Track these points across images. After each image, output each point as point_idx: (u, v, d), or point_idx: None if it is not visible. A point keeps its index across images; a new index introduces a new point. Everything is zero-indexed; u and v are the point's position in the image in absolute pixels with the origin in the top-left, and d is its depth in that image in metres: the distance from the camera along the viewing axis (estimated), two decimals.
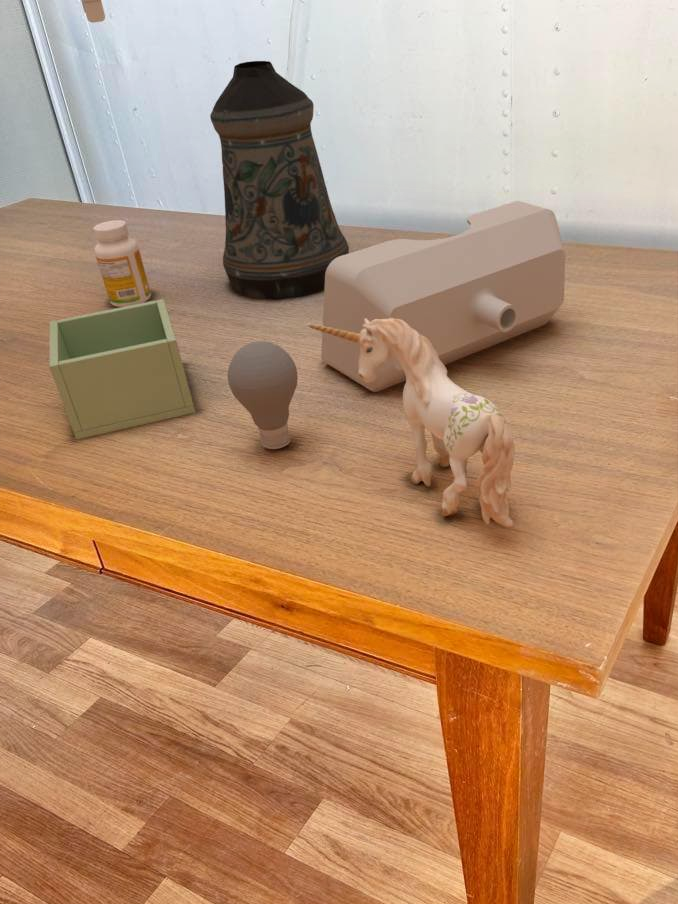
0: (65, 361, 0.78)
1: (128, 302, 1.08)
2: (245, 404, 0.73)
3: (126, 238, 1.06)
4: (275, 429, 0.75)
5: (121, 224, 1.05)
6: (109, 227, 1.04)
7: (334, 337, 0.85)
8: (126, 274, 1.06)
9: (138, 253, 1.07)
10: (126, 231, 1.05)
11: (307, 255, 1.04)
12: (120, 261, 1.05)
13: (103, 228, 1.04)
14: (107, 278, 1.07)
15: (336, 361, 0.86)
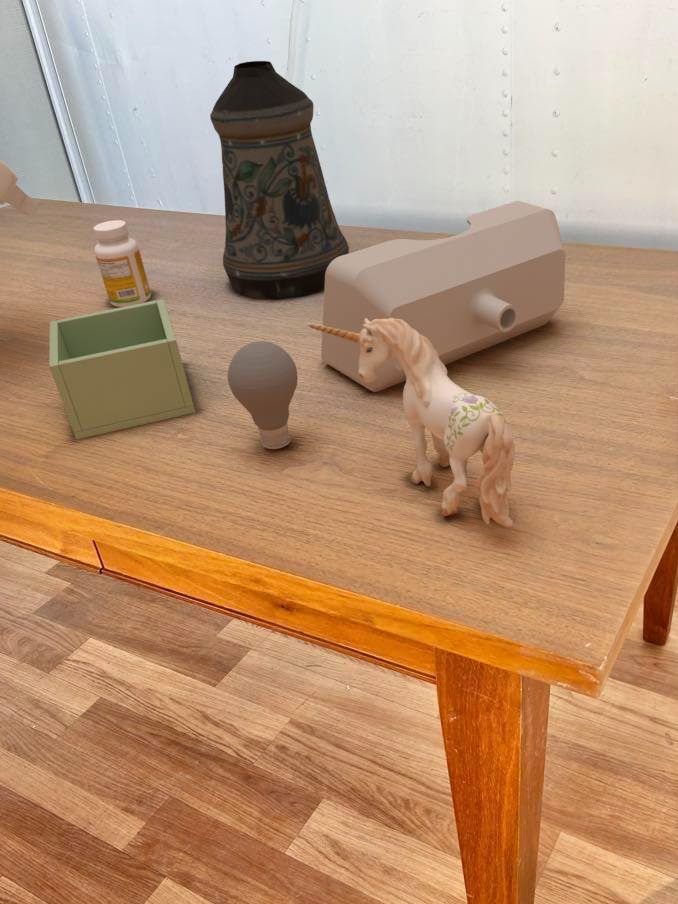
0: (65, 361, 0.78)
1: (128, 302, 1.08)
2: (245, 404, 0.73)
3: (126, 238, 1.06)
4: (275, 429, 0.75)
5: (121, 224, 1.05)
6: (109, 227, 1.04)
7: (334, 337, 0.85)
8: (126, 274, 1.06)
9: (138, 253, 1.07)
10: (126, 231, 1.05)
11: (307, 255, 1.04)
12: (120, 261, 1.05)
13: (103, 228, 1.04)
14: (107, 278, 1.07)
15: (336, 361, 0.86)
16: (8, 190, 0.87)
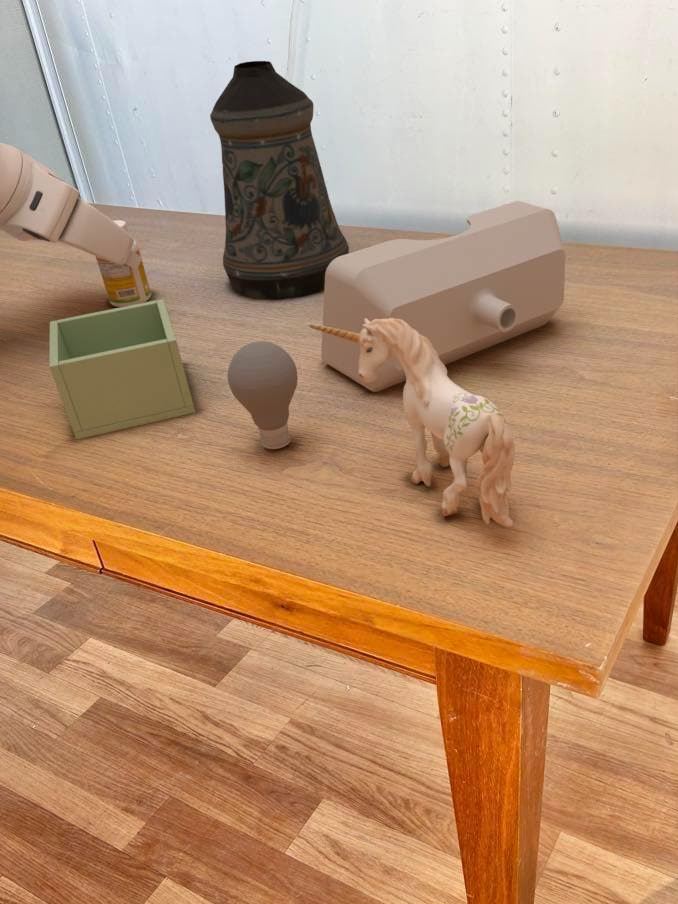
0: (65, 361, 0.78)
1: (128, 302, 1.08)
2: (245, 404, 0.73)
3: None
4: (275, 429, 0.75)
5: (121, 224, 1.05)
6: None
7: (334, 337, 0.85)
8: (126, 274, 1.06)
9: (138, 253, 1.07)
10: (126, 231, 1.05)
11: (307, 255, 1.04)
12: None
13: None
14: (107, 278, 1.07)
15: (336, 361, 0.86)
16: (127, 252, 0.98)
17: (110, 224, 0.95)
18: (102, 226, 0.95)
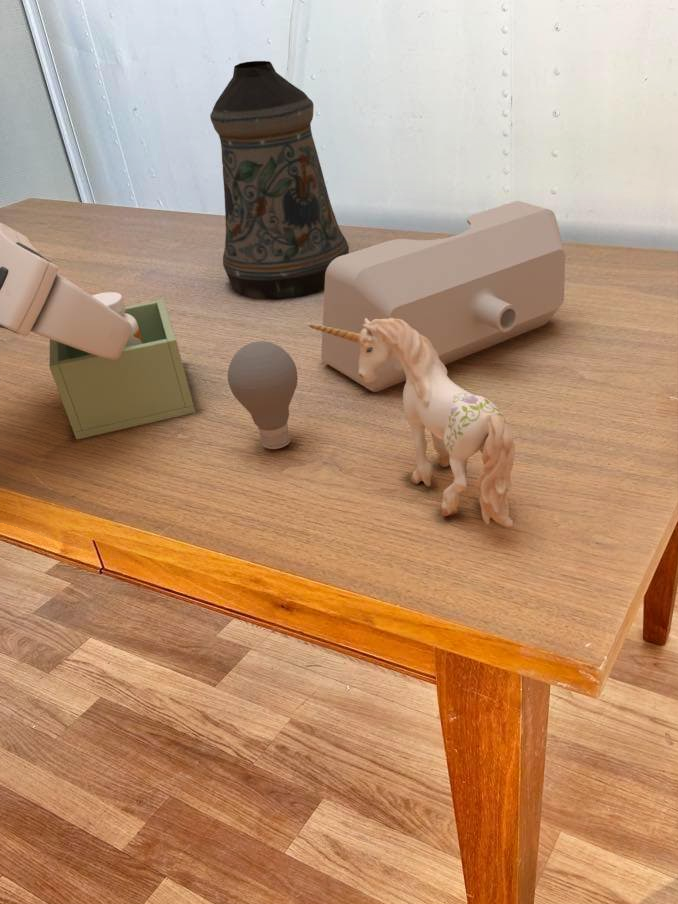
0: (65, 361, 0.78)
1: None
2: (245, 404, 0.73)
3: (122, 316, 0.82)
4: (275, 429, 0.75)
5: (116, 299, 0.81)
6: None
7: (334, 337, 0.85)
8: None
9: (138, 334, 0.83)
10: (122, 307, 0.81)
11: (307, 255, 1.04)
12: None
13: None
14: None
15: (336, 361, 0.86)
16: (123, 344, 0.74)
17: (100, 309, 0.71)
18: (89, 312, 0.71)
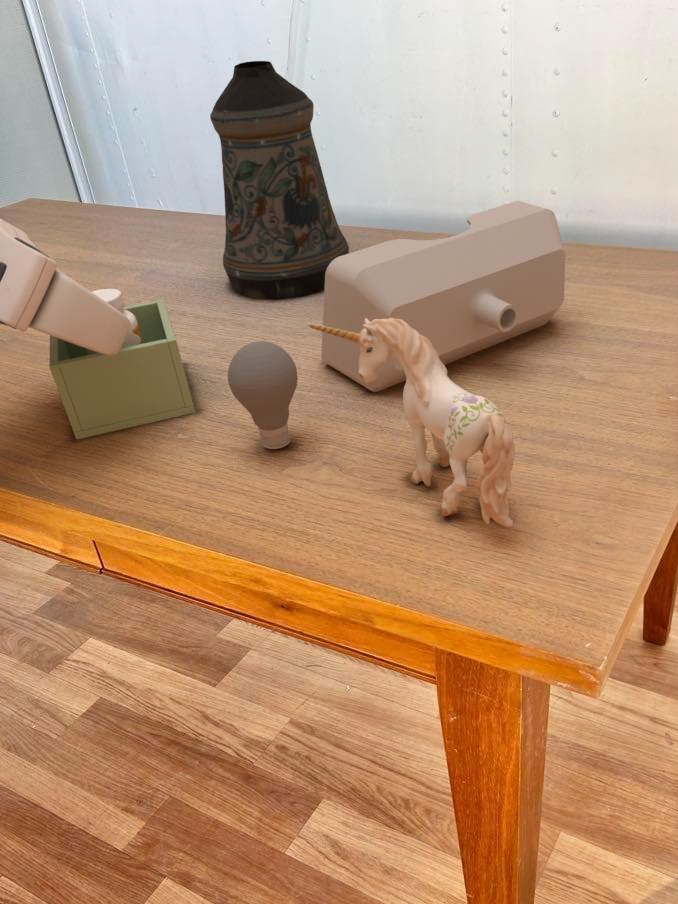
0: (65, 361, 0.78)
1: None
2: (245, 404, 0.73)
3: (121, 312, 0.81)
4: (275, 429, 0.75)
5: (115, 295, 0.80)
6: None
7: (334, 337, 0.85)
8: None
9: (137, 331, 0.83)
10: (121, 304, 0.81)
11: (307, 255, 1.04)
12: None
13: None
14: None
15: (336, 361, 0.86)
16: (122, 340, 0.73)
17: (99, 305, 0.71)
18: (88, 308, 0.70)
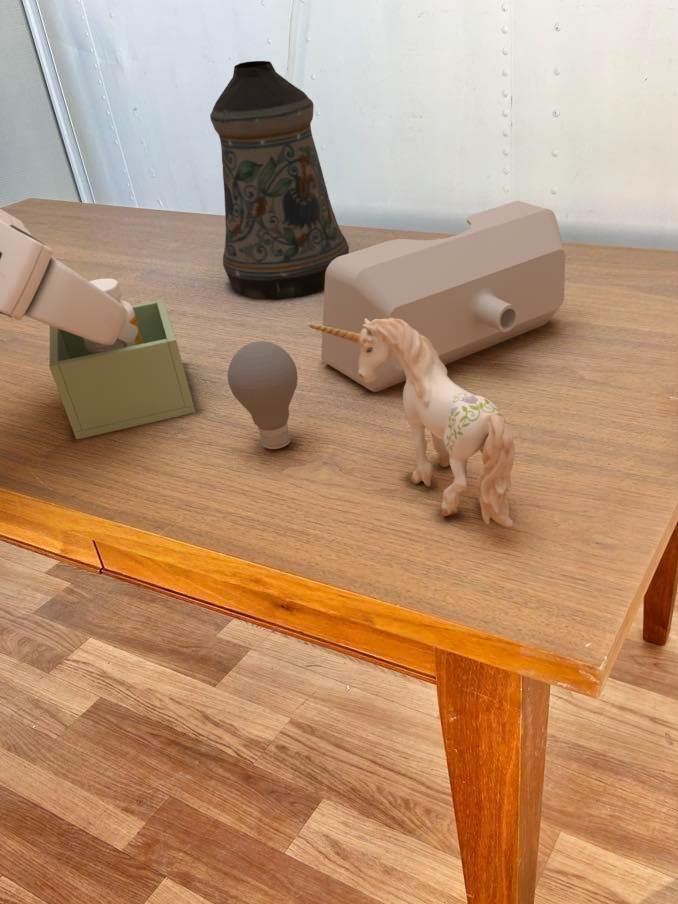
0: (65, 361, 0.78)
1: None
2: (245, 404, 0.73)
3: None
4: (275, 429, 0.75)
5: (112, 285, 0.80)
6: None
7: (334, 337, 0.85)
8: (119, 348, 0.81)
9: (134, 321, 0.82)
10: (118, 294, 0.80)
11: (307, 255, 1.04)
12: None
13: None
14: (93, 353, 0.82)
15: (336, 361, 0.86)
16: (118, 329, 0.73)
17: (95, 293, 0.70)
18: (84, 296, 0.70)
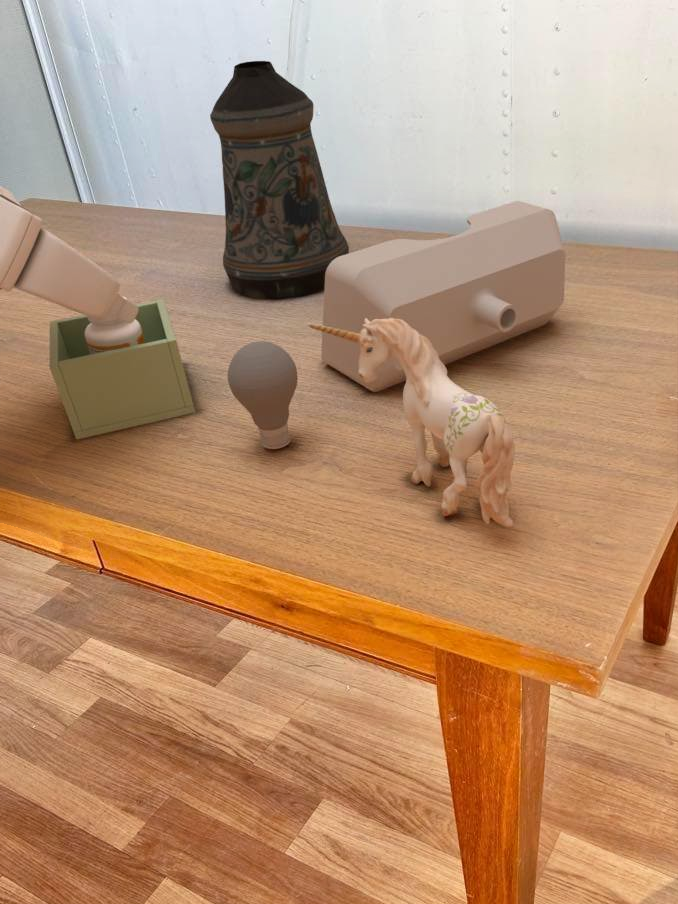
0: (65, 361, 0.78)
1: None
2: (245, 404, 0.73)
3: None
4: (275, 429, 0.75)
5: None
6: None
7: (334, 337, 0.85)
8: None
9: (142, 338, 0.83)
10: None
11: (307, 255, 1.04)
12: None
13: None
14: None
15: (336, 361, 0.86)
16: (110, 302, 0.71)
17: (86, 265, 0.69)
18: (75, 268, 0.68)
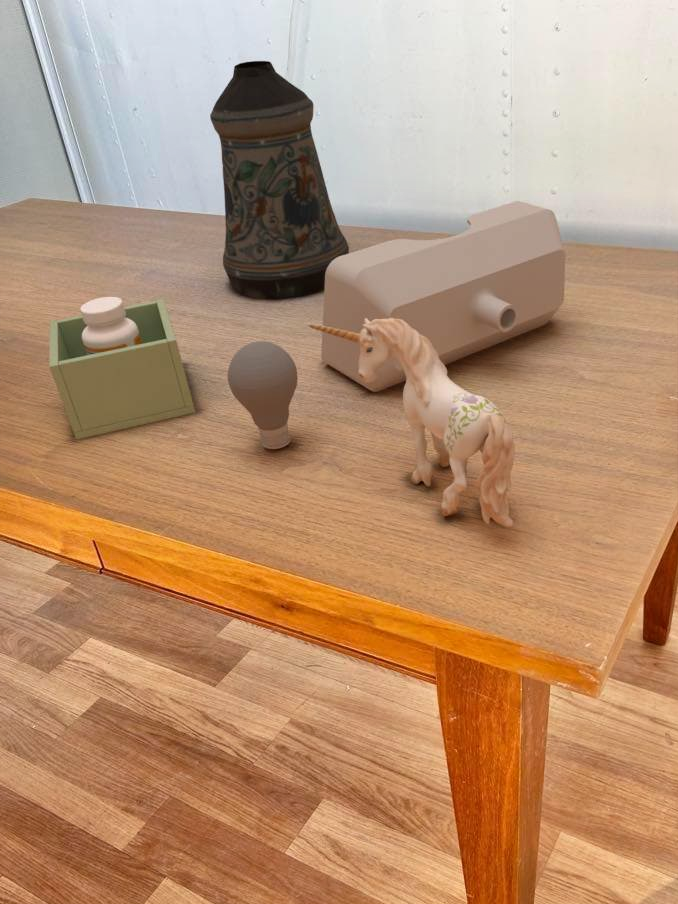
0: (65, 361, 0.78)
1: None
2: (245, 404, 0.73)
3: (123, 320, 0.82)
4: (275, 429, 0.75)
5: (116, 303, 0.81)
6: (101, 308, 0.80)
7: (334, 337, 0.85)
8: None
9: (139, 338, 0.83)
10: (123, 312, 0.81)
11: (307, 255, 1.04)
12: None
13: (93, 309, 0.80)
14: None
15: (336, 361, 0.86)
16: None
17: None
18: None
